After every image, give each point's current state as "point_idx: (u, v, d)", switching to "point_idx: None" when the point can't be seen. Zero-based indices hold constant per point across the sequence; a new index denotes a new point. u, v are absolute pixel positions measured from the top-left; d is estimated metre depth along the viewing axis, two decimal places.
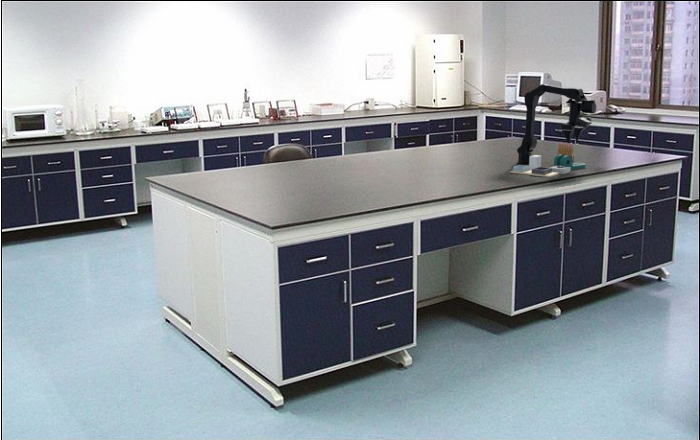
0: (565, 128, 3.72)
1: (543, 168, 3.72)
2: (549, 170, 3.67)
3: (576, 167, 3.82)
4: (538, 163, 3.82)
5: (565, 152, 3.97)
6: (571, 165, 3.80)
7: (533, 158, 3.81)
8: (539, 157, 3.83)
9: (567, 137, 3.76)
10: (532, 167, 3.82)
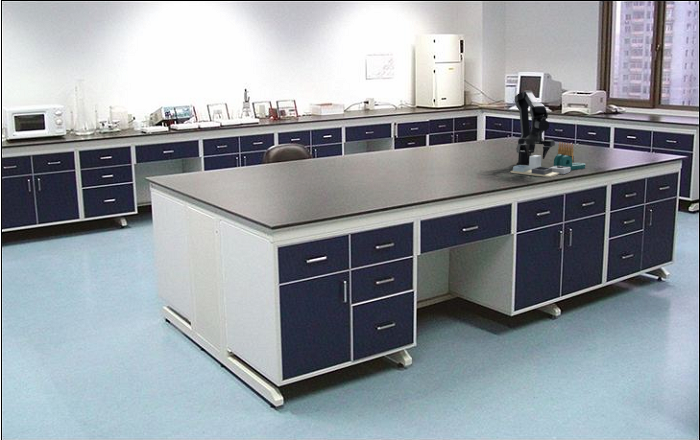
0: None
1: (543, 168, 3.72)
2: (549, 170, 3.67)
3: (576, 167, 3.82)
4: (538, 163, 3.82)
5: (565, 152, 3.97)
6: (571, 165, 3.80)
7: (533, 158, 3.81)
8: (539, 157, 3.83)
9: None
10: (532, 167, 3.82)
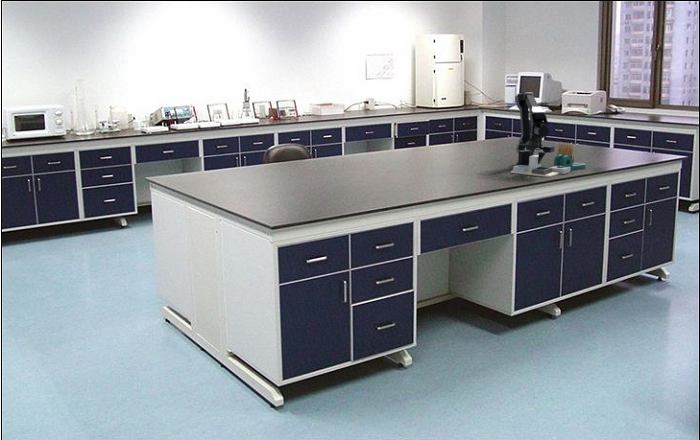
0: None
1: (543, 168, 3.72)
2: (549, 170, 3.67)
3: (576, 167, 3.82)
4: None
5: (565, 152, 3.97)
6: (571, 165, 3.80)
7: (533, 158, 3.81)
8: None
9: None
10: (532, 167, 3.82)
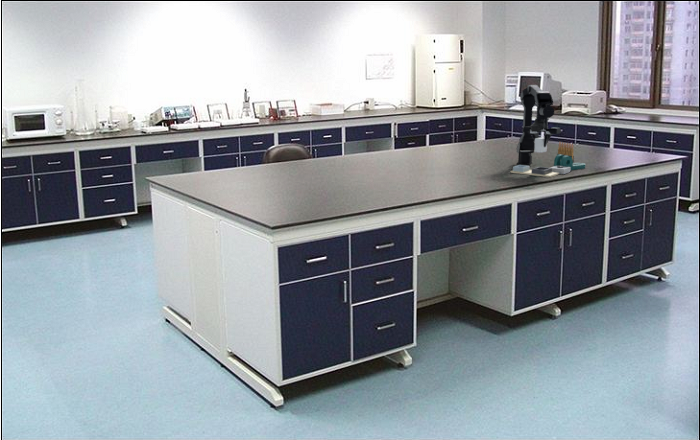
0: None
1: (543, 168, 3.72)
2: (549, 170, 3.67)
3: (576, 167, 3.81)
4: None
5: (565, 152, 3.97)
6: (571, 165, 3.80)
7: (539, 140, 3.68)
8: None
9: None
10: (538, 149, 3.69)
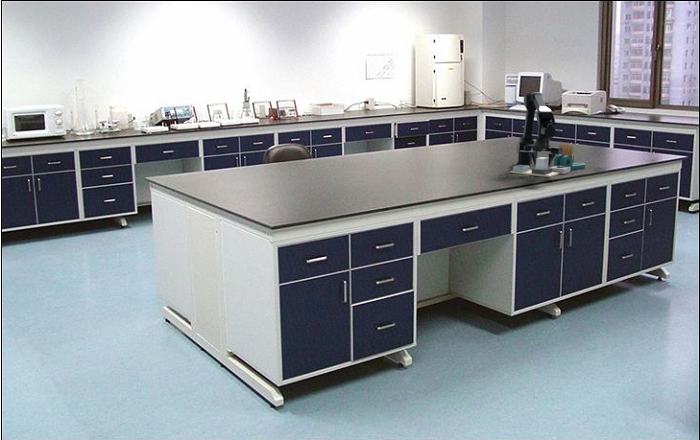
0: None
1: None
2: (549, 170, 3.67)
3: (576, 167, 3.81)
4: (545, 165, 3.66)
5: (565, 152, 3.97)
6: (571, 165, 3.79)
7: (540, 160, 3.65)
8: (546, 159, 3.66)
9: None
10: None
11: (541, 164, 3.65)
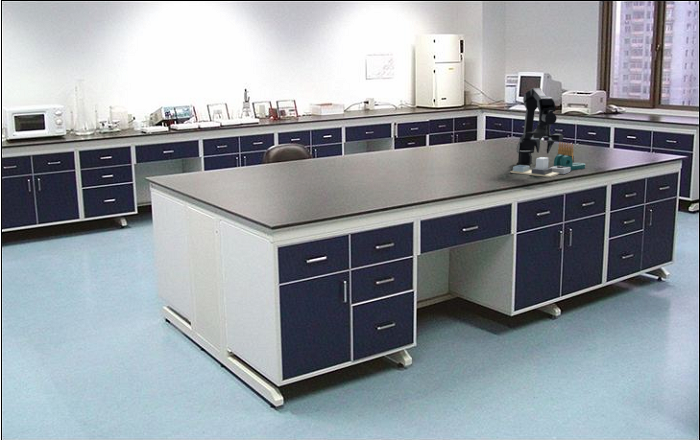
0: None
1: None
2: (549, 170, 3.67)
3: (576, 167, 3.81)
4: (545, 165, 3.66)
5: (565, 152, 3.97)
6: (571, 165, 3.79)
7: (540, 160, 3.65)
8: (546, 159, 3.66)
9: None
10: None
11: (541, 164, 3.65)
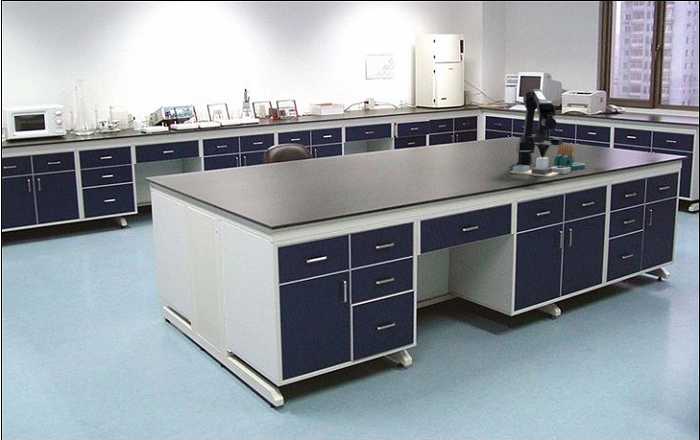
0: None
1: None
2: (549, 170, 3.67)
3: (576, 167, 3.81)
4: (545, 165, 3.66)
5: (565, 152, 3.97)
6: (571, 165, 3.79)
7: (540, 160, 3.65)
8: (546, 159, 3.66)
9: None
10: None
11: (541, 164, 3.65)
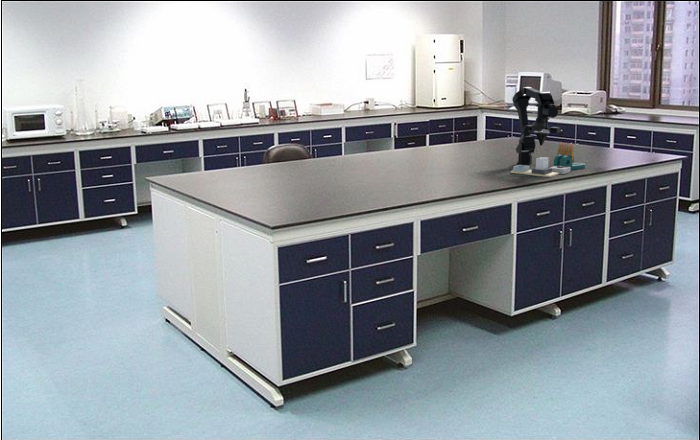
0: None
1: None
2: (549, 170, 3.67)
3: (576, 167, 3.81)
4: (545, 165, 3.66)
5: (565, 152, 3.97)
6: (571, 165, 3.79)
7: (540, 160, 3.65)
8: (546, 159, 3.66)
9: None
10: None
11: (541, 164, 3.65)
